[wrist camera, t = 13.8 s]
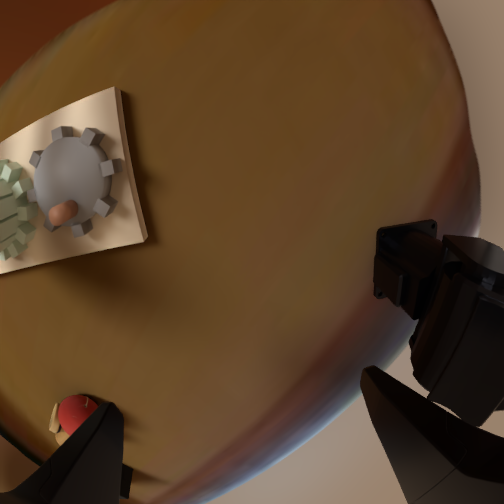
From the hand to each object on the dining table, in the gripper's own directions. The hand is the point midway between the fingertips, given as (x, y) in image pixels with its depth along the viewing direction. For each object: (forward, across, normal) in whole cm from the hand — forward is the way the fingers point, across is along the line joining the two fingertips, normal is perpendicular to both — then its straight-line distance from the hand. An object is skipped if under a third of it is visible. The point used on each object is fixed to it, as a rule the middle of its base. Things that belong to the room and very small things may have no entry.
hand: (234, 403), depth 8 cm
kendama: (+13, +26, +20) cm, 35 cm away
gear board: (+13, +18, -8) cm, 24 cm away
